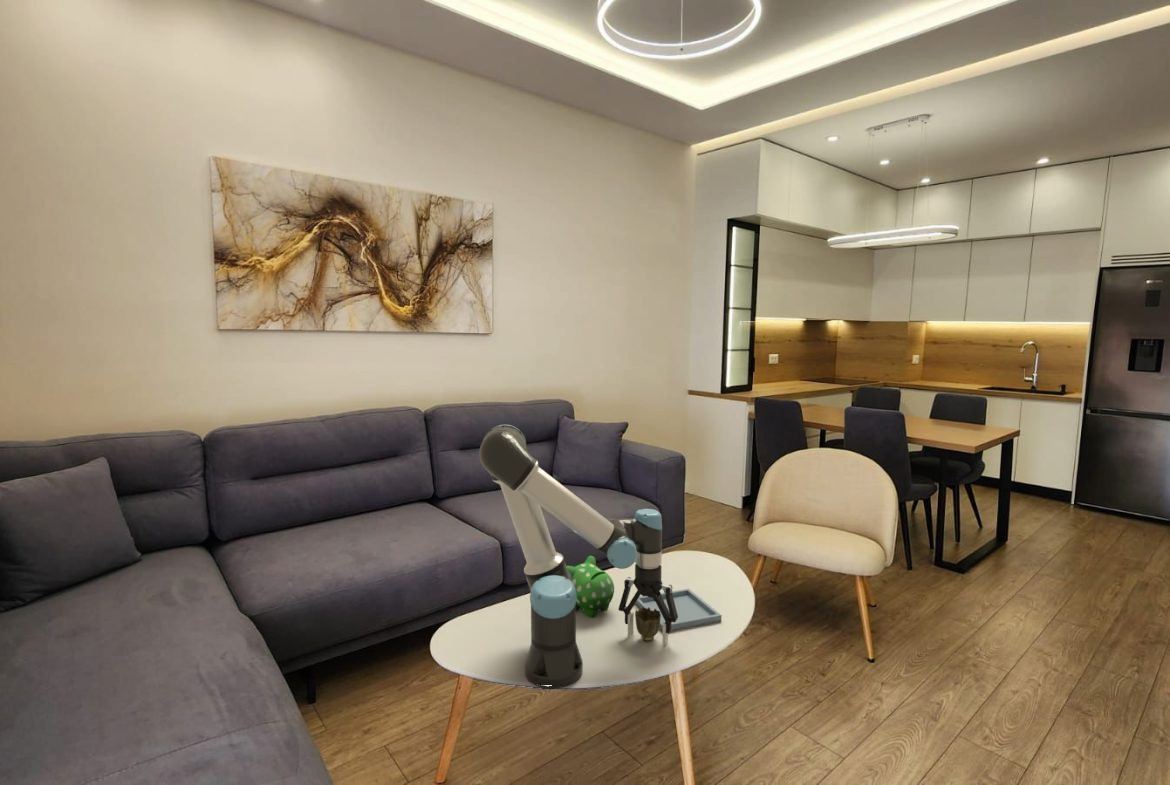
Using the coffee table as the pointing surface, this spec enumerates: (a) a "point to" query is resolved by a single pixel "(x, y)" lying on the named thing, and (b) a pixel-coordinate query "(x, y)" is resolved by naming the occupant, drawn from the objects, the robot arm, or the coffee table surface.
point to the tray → (684, 609)
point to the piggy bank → (591, 587)
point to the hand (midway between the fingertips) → (647, 638)
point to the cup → (647, 623)
